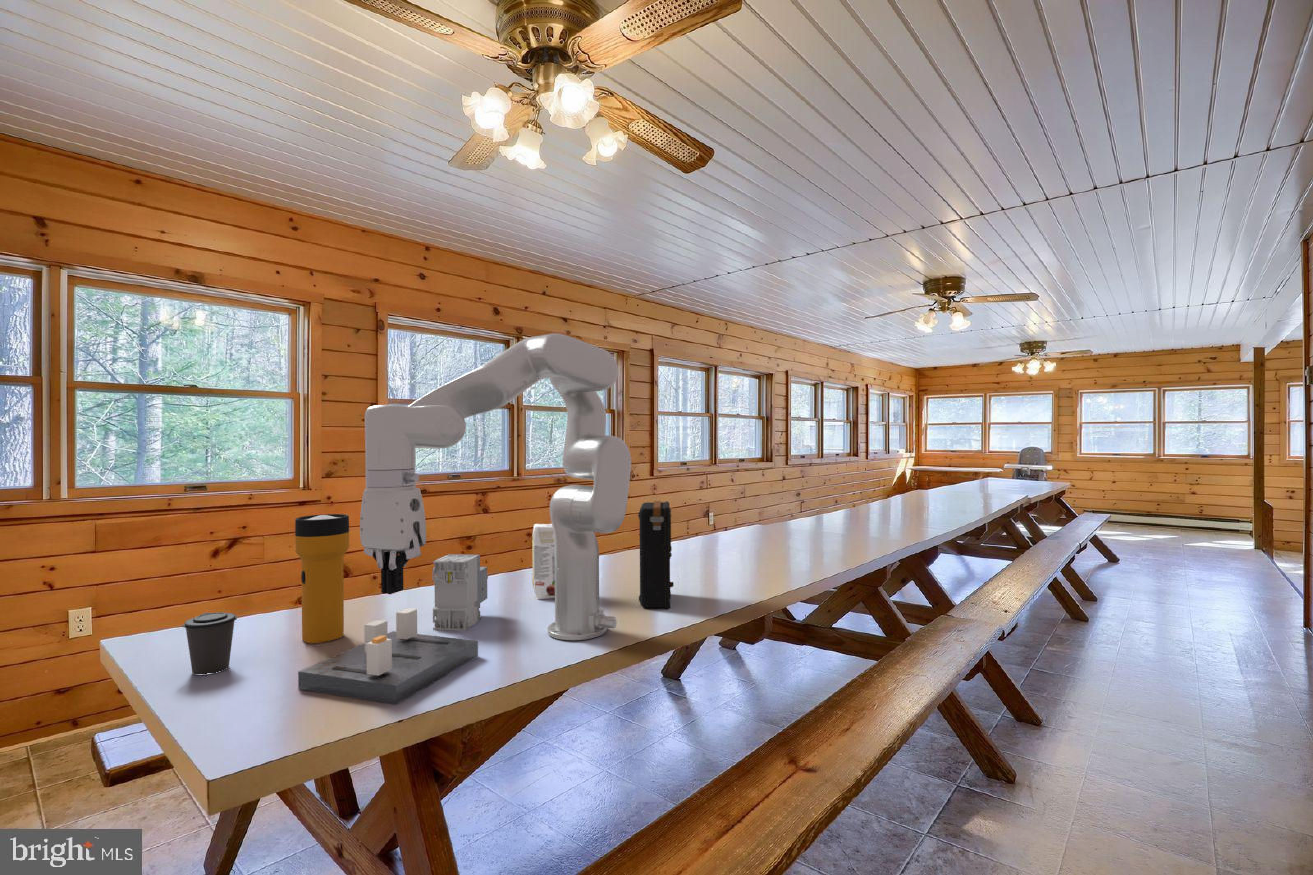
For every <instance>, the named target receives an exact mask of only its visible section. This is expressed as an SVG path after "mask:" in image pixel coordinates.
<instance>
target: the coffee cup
mask: <svg viewBox="0 0 1313 875" xmlns="http://www.w3.org/2000/svg"><path fill="white" fill-rule="evenodd" d="M237 619H238V616H237V615H236V614H235V613H231V612H223V611H221V612H205V613H201V614H200V615H198V616H195V617H192V618H190V619H187V620H185V621H184V623H183V624H182V628H184V629H185V631H186V632H185V633H186V639H187V644H188V651H189V652H188V654H189V658H190V659H189V660H190V665H191V671H192V674H193V673H194V674H207V673H215V674H217V673H216V672H218V673H220V672H219V671H221V672H223V671H222V670H224V669H226V668H227V669H229V666H230V661H231V652H232V645H233V637H234V627H235V622H236V620H237ZM227 669H226V670H227ZM224 671H225V670H224Z"/></svg>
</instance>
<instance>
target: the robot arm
mask: <svg viewBox="0 0 1313 875" xmlns="http://www.w3.org/2000/svg"><path fill="white" fill-rule="evenodd" d="M618 376H619V367H618V364H617V361H616V358H614V356H613V355H612V354H611V353H610V352H608V351H607V350H606V349H603V348H601V347H598V346H596V345H593V344H591V343H588V342H585V341H584V340H580V339H578V338H576V337H573V336H569V335H566V334H562V333H555V332H554V333H548V334H541V335H535V336H531V337H527V338H524V339H521V340H519V341H518V342H517V343H515V344H514V345H512V346H510V347H509V348H507V349H506V350H504V351H503V352H501V353H500V354H498V355H496V356H495V357H493V358H492V359H490V360H489V361H487V362H486V363H483V364H482V365H481V366H479V367H476V368H475V369H473V370H471V371H469V372H467V373H465V374H463V375H461V376H459V377H457V378H455V379H453V380H452V381H451V380H450V381H449V382H446V383H445V384H443V385H441V386H439V387H437V388H435V389H433V390H431V391H430V392H428V393H426V394H425V395H423V396H422V397H420V398H418V399H417V400H415V401H414V402H412V403H410V404H409V405H402V404H377V405H376V404H375V405H372V406H369V407H368V408H367V409H365V410H366V411H365V413H364V440H365V442H364V445H365V446H364V447H365V488H364V490H363V494H362V498H361V499H362V500H361V507H360V516H359V517H360V518H359V537H360V544H361V546H362V547H363V553H364V555H367V556H368V557H371V558H374V560H375V562H376V565H377V566H376V567H377V568H378V569H380V581H381V582H380V584H381V585H380V589H381V590H380V592H381V594H382V595H383V594H384V595H386V594H387V595H393V594H396V593H399V592H401V591H403V590H404V567H406V566H407V564H408V562H409V561H410V559H414V558H418V557H421V555H422V552H421V547H424V546H425V545H426V542H427V524H426V514H425V512H426V511H425V506H424V500H423V496H422V493H421V488H419V487H416V486H417V485H416V483H417V482H419V481H420V475H419V474H418V473H416V449H434V450H435V449H437V450H438V449H447V448H451V447H453V446H455V445H457V444H458V443H459V442H460V441H461V440H462V439H463V438H464V436H465V434H466V430H467V423H466V420H465V419H467V418H469V417H472V416H476V415H480V414H484V413H487V412H492V411H494V410H497V409H500V408H501V407H504V406H506V405H507V404H509V403H510V402H512V401H513V400H515V399H516V398H517V397H519V396H520V395H521V394H523V393H524V392H525V391H526V390H528V389H529V388H531V387H532V386H534V385H535V384H536V383H538V382H540V381H541V380H544V379H549V380H550V383H551V385H552V386H553V387H554V389H555V390H556V391H557V393H558V394H559V396H560V397H561V399H562V400H563V402H564V404H565V407H566V408H565V409H566V412H567V414H566V415H567V419H566V428H565V429H566V430H565V437H564V443H563V444H564V446H563V452H562V453H563V454H562V467H563V470H564V472H565V473H566V475H568V476H569V477H571V478H574V479H580V480H591V481H593V485H592V486H591V485H582V484H581V485H580V484H570V485H565V486H562V487H560V488H559V489H557V490H556V491H555V492H554V494H553V495H552V496H551V499H550V502H549V516H550V521H551V524H552V527H553V533H554V544H555V598H554V622H552V623H551V624H549V625H548V626H547V634H548V635H549V636H550V637H552V638H554V639H557V640H561V641H562V640H563V641H583V640H590V639H591V640H592V639H594V638H595V639H596V638H597V637H600V636H602V635H604V634H606V632H607V630H608V629H616V628H617V623H618V622H617V621H618V620H617V619H616V616H613V615H612V616H611V615H606V614H605V613H604V612H605V611H604V608H600V549H599V543H598V539H597V537H596V533H600V534H609V533H613V532H615V531H617V530H618V529H619V528H620V527H621V525H623V522H624V519H625V516H626V512H627V508H628V507H627V506H628V497H629V490H630V481H631V473H632V472H631V471H632V456H631V452H630V449H629V447H628V445H627V443H626V442H625V440H623V439H622V438H620V437H618V436H616V435H615V436H614V435H607V434H606V427H607V426H606V425H607V424H606V423H607V413H606V408H605V405H604V403H603V400H602V398H601V397H600V395H599V394H598V393H597V392H603V391H605V390H606V391H607V390H608V389H610V388H611V387H613V386H614V384H615V383H616V381H617V380H618Z"/></svg>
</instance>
